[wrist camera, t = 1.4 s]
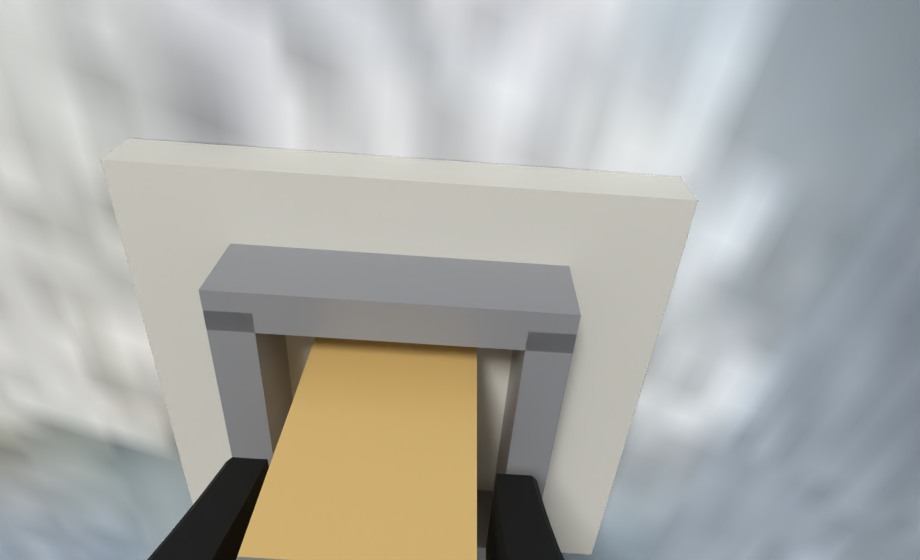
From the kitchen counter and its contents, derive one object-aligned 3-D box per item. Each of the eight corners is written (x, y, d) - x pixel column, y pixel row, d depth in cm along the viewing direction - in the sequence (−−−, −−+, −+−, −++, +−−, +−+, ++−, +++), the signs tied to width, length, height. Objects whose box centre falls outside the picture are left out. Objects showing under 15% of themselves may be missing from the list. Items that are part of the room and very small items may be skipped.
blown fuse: (477, 328, 12) (476, 654, 7) (463, 467, 14) (455, 792, 9) (322, 318, 12) (208, 638, 7) (332, 459, 14) (250, 782, 9)
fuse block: (681, 176, 11) (729, 244, 9) (585, 520, 17) (601, 612, 14) (129, 138, 11) (47, 198, 9) (214, 498, 16) (175, 588, 14)
